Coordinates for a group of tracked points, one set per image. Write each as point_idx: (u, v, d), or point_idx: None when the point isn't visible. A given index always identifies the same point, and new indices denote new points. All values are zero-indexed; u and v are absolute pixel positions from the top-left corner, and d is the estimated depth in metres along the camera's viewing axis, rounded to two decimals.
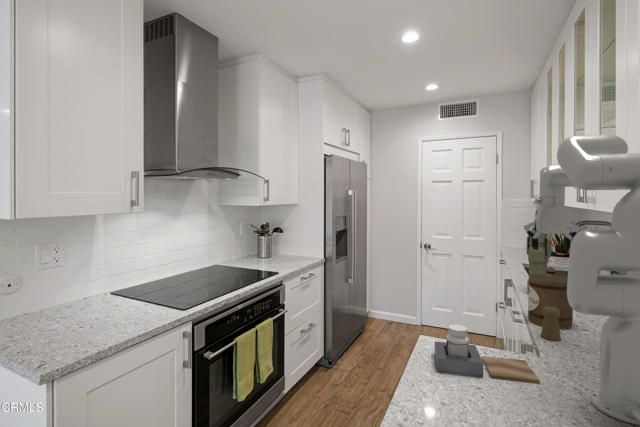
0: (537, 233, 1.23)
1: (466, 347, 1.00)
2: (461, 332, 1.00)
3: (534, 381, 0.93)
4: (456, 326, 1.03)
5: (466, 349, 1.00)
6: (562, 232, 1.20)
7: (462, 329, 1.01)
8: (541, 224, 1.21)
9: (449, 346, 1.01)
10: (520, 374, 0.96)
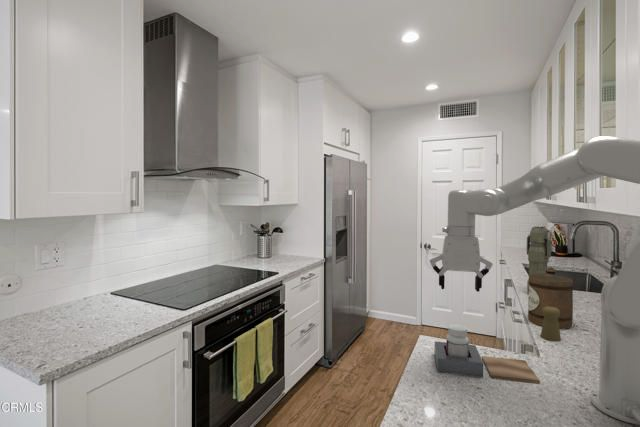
0: (443, 269, 1.02)
1: (466, 347, 1.00)
2: (461, 332, 1.00)
3: (534, 381, 0.93)
4: (456, 326, 1.03)
5: (466, 349, 1.00)
6: (471, 269, 0.99)
7: (462, 329, 1.01)
8: (447, 259, 1.01)
9: (449, 346, 1.01)
10: (520, 374, 0.96)
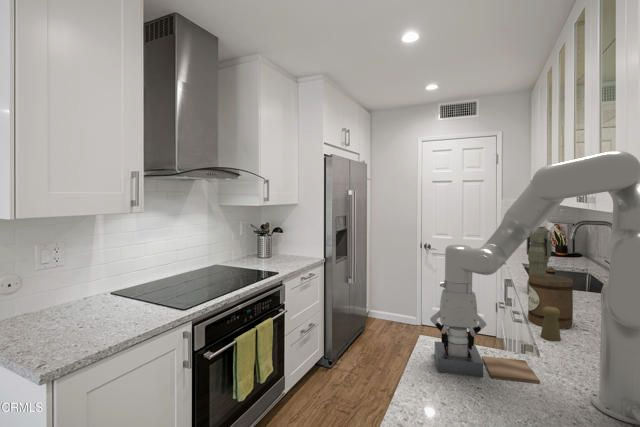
0: (444, 327, 1.02)
1: (466, 347, 1.00)
2: (461, 332, 1.00)
3: (534, 381, 0.93)
4: None
5: (466, 349, 1.00)
6: (468, 326, 0.99)
7: (462, 329, 1.01)
8: (444, 315, 1.01)
9: (449, 346, 1.01)
10: (520, 374, 0.96)
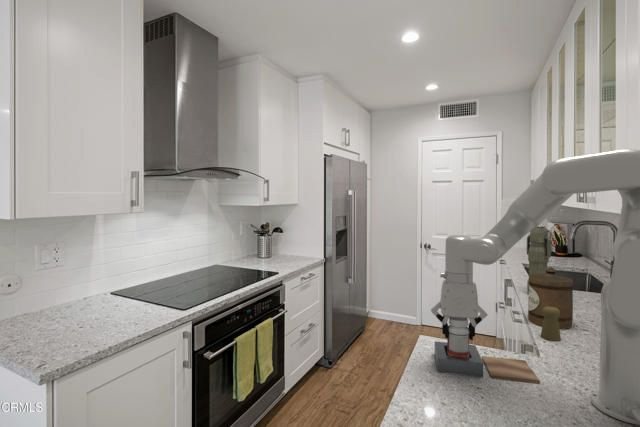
0: (445, 317, 1.02)
1: (467, 338, 1.00)
2: (462, 323, 1.00)
3: (534, 381, 0.93)
4: None
5: (467, 340, 1.00)
6: (469, 316, 0.99)
7: (463, 320, 1.01)
8: (445, 305, 1.01)
9: (450, 337, 1.01)
10: (520, 374, 0.96)
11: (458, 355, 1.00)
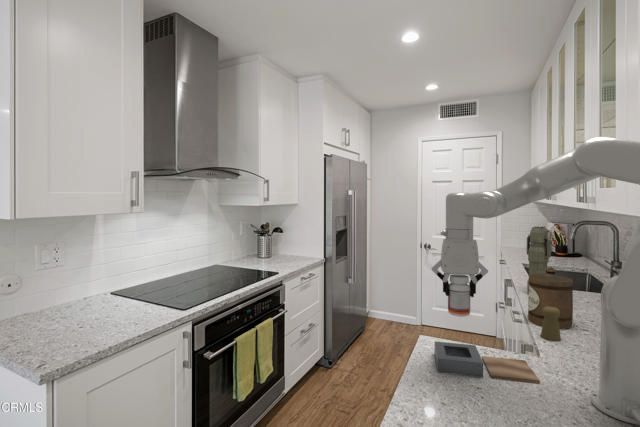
0: (446, 275, 1.01)
1: (468, 295, 0.99)
2: (462, 279, 0.99)
3: (534, 381, 0.93)
4: (457, 275, 1.03)
5: (468, 296, 0.99)
6: (470, 272, 0.98)
7: (463, 277, 1.00)
8: (446, 262, 1.00)
9: (451, 294, 1.01)
10: (520, 374, 0.96)
11: (459, 312, 0.99)
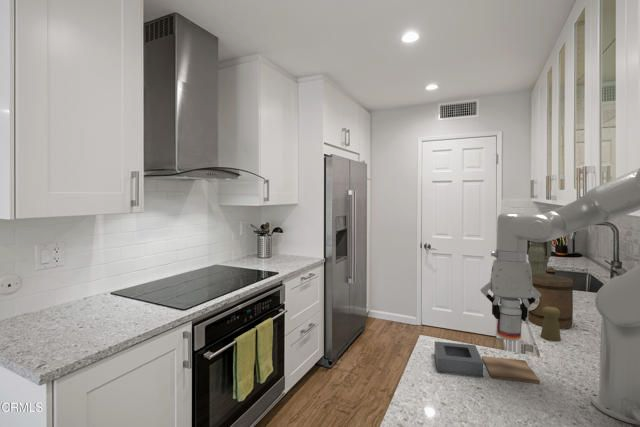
0: (497, 298, 0.98)
1: (520, 318, 0.97)
2: (515, 302, 0.96)
3: (534, 381, 0.93)
4: None
5: (520, 320, 0.97)
6: (523, 296, 0.95)
7: (515, 300, 0.97)
8: (497, 285, 0.97)
9: (502, 317, 0.98)
10: (520, 374, 0.96)
11: (510, 336, 0.97)
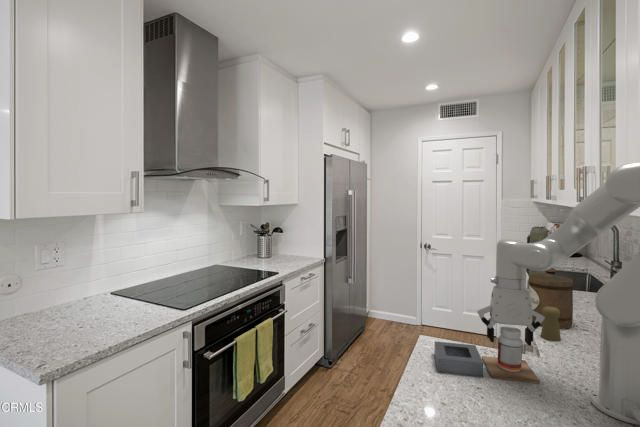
0: (493, 322, 0.99)
1: (521, 350, 0.97)
2: (515, 334, 0.96)
3: (534, 381, 0.93)
4: (508, 328, 1.00)
5: (520, 351, 0.97)
6: (522, 323, 0.96)
7: (516, 331, 0.98)
8: (497, 312, 0.97)
9: (502, 348, 0.98)
10: (520, 374, 0.96)
11: (511, 367, 0.97)
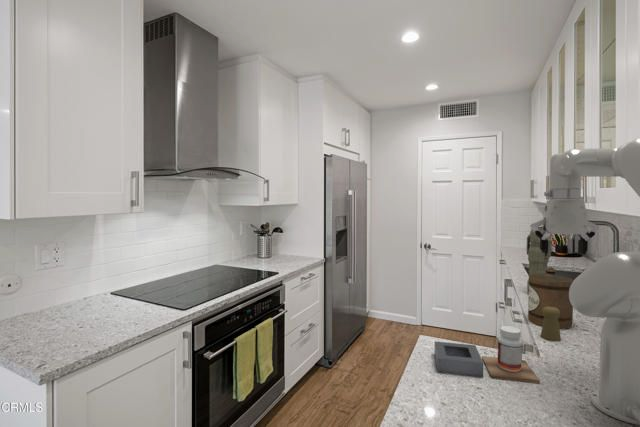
0: (547, 233, 1.02)
1: (521, 350, 0.97)
2: (515, 334, 0.96)
3: (534, 381, 0.93)
4: (508, 328, 1.00)
5: (520, 351, 0.97)
6: (578, 232, 0.99)
7: (515, 331, 0.98)
8: (552, 222, 1.00)
9: (502, 348, 0.98)
10: (520, 374, 0.96)
11: (511, 367, 0.97)
